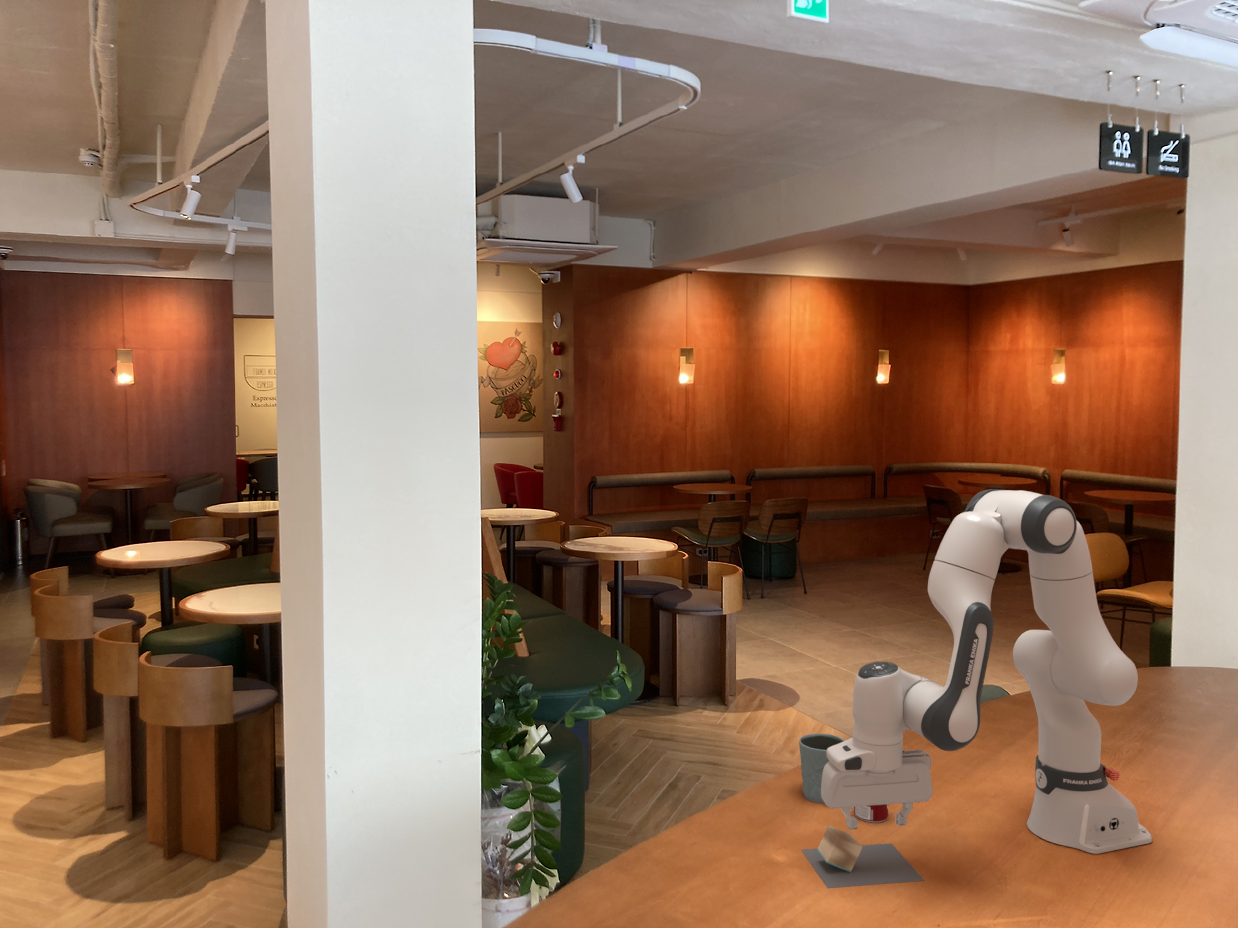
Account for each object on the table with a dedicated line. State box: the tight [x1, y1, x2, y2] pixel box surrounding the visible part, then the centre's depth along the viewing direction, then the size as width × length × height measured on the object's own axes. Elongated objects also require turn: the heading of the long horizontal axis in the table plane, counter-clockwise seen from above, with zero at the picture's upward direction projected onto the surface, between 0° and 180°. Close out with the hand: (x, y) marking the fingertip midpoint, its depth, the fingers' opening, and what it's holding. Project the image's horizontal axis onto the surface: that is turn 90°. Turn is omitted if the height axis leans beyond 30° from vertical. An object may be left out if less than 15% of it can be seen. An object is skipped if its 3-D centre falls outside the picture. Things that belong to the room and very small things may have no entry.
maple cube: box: [816, 825, 862, 872], centre depth 171 cm, size 5×5×5 cm
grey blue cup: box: [798, 733, 846, 805], centre depth 203 cm, size 10×10×12 cm
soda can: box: [853, 804, 889, 824], centre depth 192 cm, size 7×7×12 cm
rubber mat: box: [800, 842, 926, 889], centre depth 172 cm, size 18×14×1 cm
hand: (876, 825), depth 172 cm, fingers open, 8 cm apart
